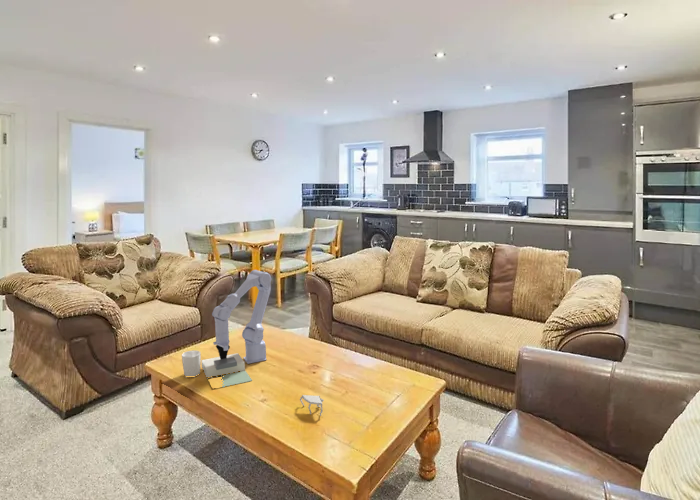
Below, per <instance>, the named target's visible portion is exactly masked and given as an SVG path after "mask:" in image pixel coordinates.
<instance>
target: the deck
mask: <svg viewBox="0 0 700 500" xmlns="http://www.w3.org/2000/svg"><path fill="white" fill-rule="evenodd" d="M231 357H234V358H235V360H236V361H237V366H234V367H229V368H224V369H219V370H216V368H215V366H214V361H215V360H220V356H216V357H211V358H206V359H201V369H202V368H203V369H202V371H203V370H204V372H203V373H205V374H204V375H206V376H205V378H206V377H211V376H216V377H218V376H217V375H221V376H222V374H226V375H227V374H228V373H230V374H232V373H233V372H235V373H237V372H238V371H240V372H241V371H246V365H245V363H246V361H245V360H243V359H244V358H242V357H241V356H240V354H239V353H238V352H237V353H232V354H227V358H231ZM211 378H212V377H211Z"/></svg>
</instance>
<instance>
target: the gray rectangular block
mask: <svg viewBox="0 0 700 500" xmlns="http://www.w3.org/2000/svg"><path fill="white" fill-rule="evenodd" d="M214 366H215V368H216V370H219V369H224V368H229V367H234V366H237V361H236V360H235V358H234V357H231V358H225V359H220V360H215V361H214Z"/></svg>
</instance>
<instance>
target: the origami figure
mask: <svg viewBox="0 0 700 500" xmlns="http://www.w3.org/2000/svg"><path fill="white" fill-rule="evenodd" d="M303 400H304V401H305V402H307V403H308V406H307V407H308V410H309V415H312V410H311V405H316V407H319V408H320V412H319V415H320V417H321V416H322V414H323V403H324V399H323V398H321V395H308V394H302V395H301V397H300V399H299V401H300V403H301V405H302V406H305V404H304V402H303ZM305 407H306V406H305Z"/></svg>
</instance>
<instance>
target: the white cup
mask: <svg viewBox="0 0 700 500" xmlns="http://www.w3.org/2000/svg"><path fill="white" fill-rule="evenodd" d="M201 358H202V356H201V351H200V350H188V351H184V352H183V353H182V354H181V360H182V367H183V368H182V370H183V376H184V375H185V376H196V375H198V374H200V375H201V365H202V361H201V360H202V359H201ZM185 376H184V377H185Z"/></svg>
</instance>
